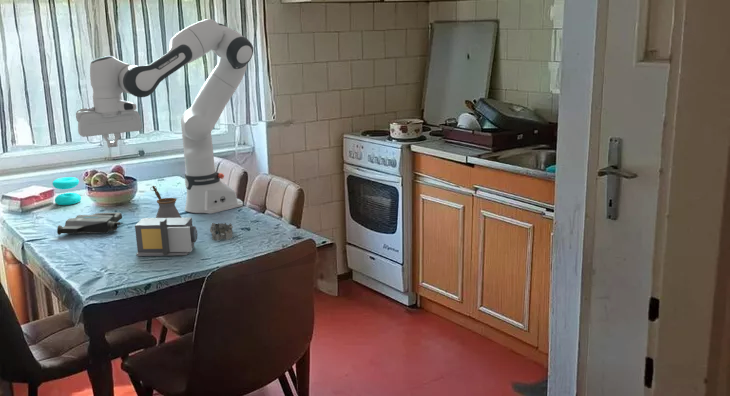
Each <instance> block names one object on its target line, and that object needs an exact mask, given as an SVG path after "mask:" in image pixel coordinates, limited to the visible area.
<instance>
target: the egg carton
mask: <svg viewBox="0 0 730 396" xmlns="http://www.w3.org/2000/svg"><path fill="white" fill-rule="evenodd" d="M233 228H234V226H233V224H231V223H228V224H227V223H226V222H225V223H222V222H221V223H219V222H218V223H214V222H211V224H210V228H209V229H210V230H209V232H210V233H211V239H212V240H213V241H220V240H230V239H233ZM216 232H218V233H216Z"/></svg>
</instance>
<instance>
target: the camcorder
mask: <svg viewBox="0 0 730 396" xmlns="http://www.w3.org/2000/svg"><path fill="white" fill-rule="evenodd" d="M122 218H123V215H122V212H100V213H99V212H97V213H93V214H89V215H88V214H82V215H81V214H78V215H76V217H73V218H72V217H71V218H68V219H67V220H65V223H64V226H62V225H58V226H57V231H56V233H57V235H58V236H60V235H61V234H68V235H69V234H75V235H77V234H108V233H109V232H113V231H114V232H115V231H117V230H118V225H121V222H120V220H121V219H122Z"/></svg>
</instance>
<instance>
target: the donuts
mask: <svg viewBox="0 0 730 396" xmlns="http://www.w3.org/2000/svg"><path fill="white" fill-rule="evenodd" d="M79 183H80V180H79V179H78V178H77V177H74V176H73V177H72V176H67V177H59V178H55V180H54V179H53V181H52V184H51V185H52V186H53V187H54V188H55V189H56V190H69V189H73V188H76V187H77V186H78V185H79ZM81 200H82V196H81V195H80V194H78V193H76V192H65V193H61V194H59V195H57V196H55V198H54V202H55V204H56V205H59V206H71V205H75V204H78V203H80V201H81Z"/></svg>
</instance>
